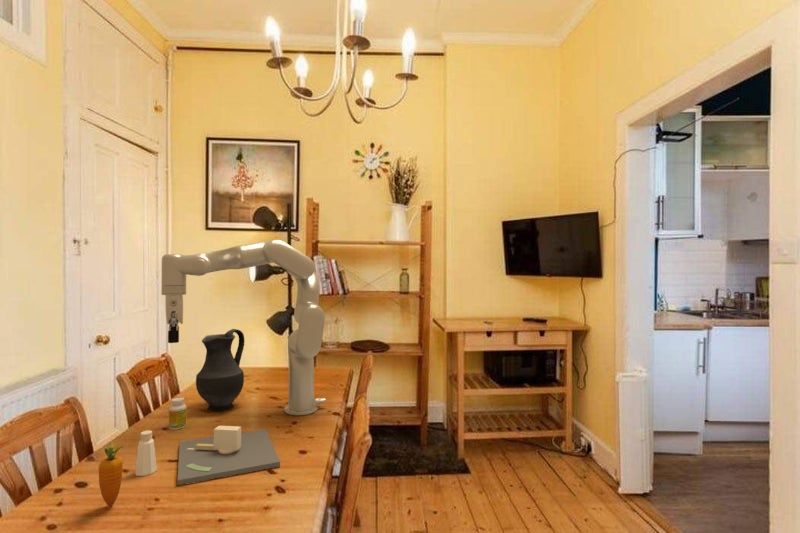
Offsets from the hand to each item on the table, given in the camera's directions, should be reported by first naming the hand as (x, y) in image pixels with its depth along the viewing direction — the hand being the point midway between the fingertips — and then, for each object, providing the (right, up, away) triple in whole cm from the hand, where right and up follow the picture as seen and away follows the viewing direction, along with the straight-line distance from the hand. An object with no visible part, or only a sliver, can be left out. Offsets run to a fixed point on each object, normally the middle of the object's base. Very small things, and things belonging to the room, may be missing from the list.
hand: (173, 340), depth 151 cm
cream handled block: (+23, -30, -19) cm, 42 cm away
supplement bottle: (0, -31, +2) cm, 31 cm away
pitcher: (+8, -31, +24) cm, 39 cm away
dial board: (+26, -31, -20) cm, 45 cm away
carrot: (+9, -32, -47) cm, 57 cm away
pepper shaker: (+8, -32, -30) cm, 44 cm away
